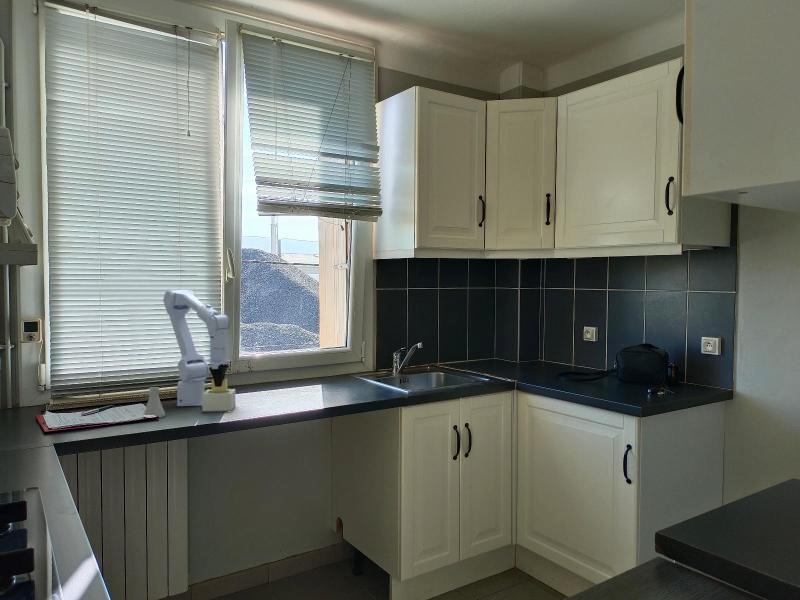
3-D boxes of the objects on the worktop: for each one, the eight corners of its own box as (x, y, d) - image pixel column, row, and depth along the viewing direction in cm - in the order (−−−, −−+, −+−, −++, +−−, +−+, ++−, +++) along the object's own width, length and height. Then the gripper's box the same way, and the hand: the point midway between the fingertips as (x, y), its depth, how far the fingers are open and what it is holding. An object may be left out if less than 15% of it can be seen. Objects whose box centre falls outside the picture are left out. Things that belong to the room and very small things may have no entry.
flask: (159, 413, 210) (158, 385, 210) (169, 416, 206) (169, 387, 205) (138, 417, 205) (138, 388, 204) (149, 420, 200) (149, 390, 200)
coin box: (202, 412, 211) (202, 394, 211) (207, 407, 220) (207, 389, 219) (231, 411, 212) (231, 393, 212) (235, 406, 221) (235, 389, 220)
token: (211, 394, 214) (211, 380, 214) (213, 392, 217) (212, 379, 216) (226, 393, 215) (225, 379, 215) (227, 392, 217) (227, 378, 217)
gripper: (226, 350, 208) (226, 389, 209) (233, 345, 223) (233, 381, 223) (205, 350, 207) (206, 389, 208) (213, 345, 222) (214, 382, 222)
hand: (219, 385), depth 216 cm, fingers closed on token, 2 cm apart
